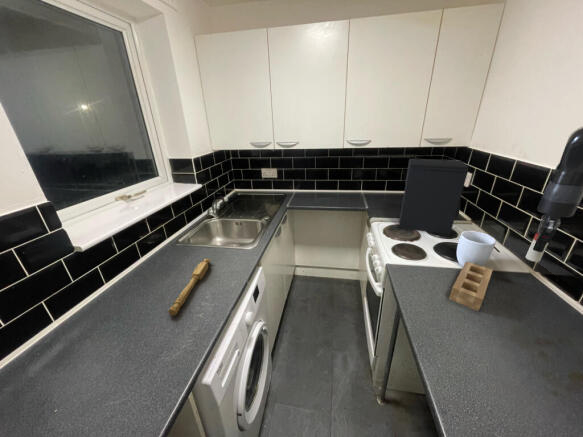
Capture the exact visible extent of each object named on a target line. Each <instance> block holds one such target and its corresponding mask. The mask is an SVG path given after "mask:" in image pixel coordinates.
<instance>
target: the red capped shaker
mask: <svg viewBox="0 0 583 437" xmlns="http://www.w3.org/2000/svg"><path fill="white" fill-rule="evenodd" d="M538 235H539V233H537V232H536V233H535V235H534V237H533V239H532V241H531V244H530V245H529V248H528V251H527V252H526V255H525V259H526V260H528V261H531V262H535V263H539V262H540V261H541V259H542V258H543V256H544V253H545V251H546V249H547V247H548V245H549V243H547V244H546V246H545V248H544V250H543V252H538V251H534V250H533V247H534V245H535V243H536V240H537V239H536V238H537V237H538ZM542 237H544V238H547V237H545V236H542Z"/></svg>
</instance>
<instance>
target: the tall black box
mask: <svg viewBox="0 0 583 437" xmlns="http://www.w3.org/2000/svg"><path fill="white" fill-rule="evenodd" d="M468 172H469V166H468V165H467V164H466V163H464V162H463V161H462V160H454V159H451V160H450V159H445V158H444V159H443V158H441V159H423V158H422V159H421V158H419V157H418V158H417V157H416V158H409V159H408V166H407V171H406V176H405V187H404V192H403V198H402V204H401V210H400V211H399V219H398V222H399V223H398V228H399V229H405V230H413V231H420V232H426V233H433V234H434V233H435V234H441V235H448V236H450V235H451V233H452V229H453V227H454V226H453V225H454V222H455V219H456V218H459V216H460V210H461V197H462V194H463V190H464V186H465V183H466V179H467V176H468Z"/></svg>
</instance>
